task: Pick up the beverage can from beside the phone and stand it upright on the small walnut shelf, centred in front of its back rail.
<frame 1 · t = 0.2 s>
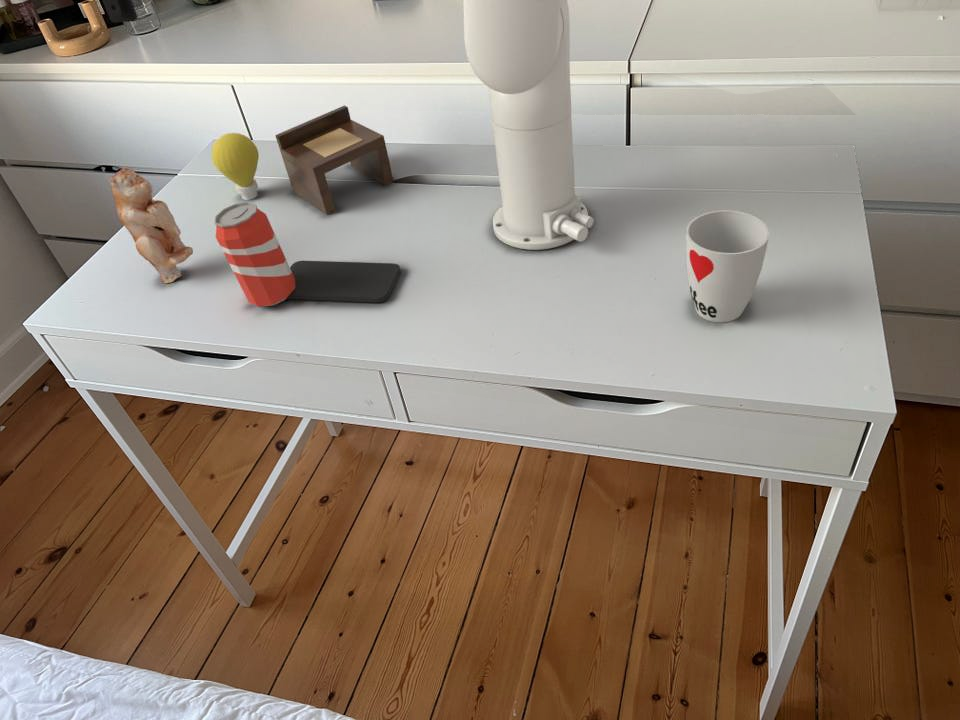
hand: (146, 6, 91), 31 cm above the table, tool pointing down, fingers open, 9 cm apart
cup: (719, 309, 85), on the table
phone: (339, 284, 98), on the table, touching beverage can
light bulb: (250, 197, 119), on the table
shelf: (343, 187, 117), on the table
beverage can: (274, 296, 98), on the table, touching phone
figurine: (175, 274, 105), on the table
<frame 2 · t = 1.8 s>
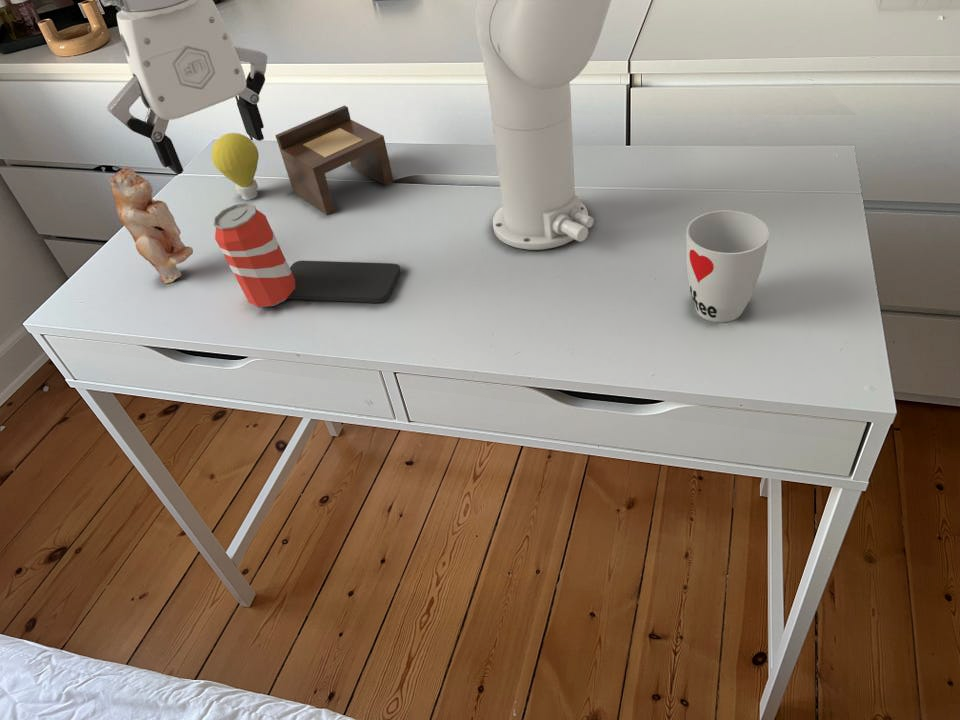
hand: (216, 153, 85), 20 cm above the table, tool pointing down, fingers open, 9 cm apart
nothing on the table moved.
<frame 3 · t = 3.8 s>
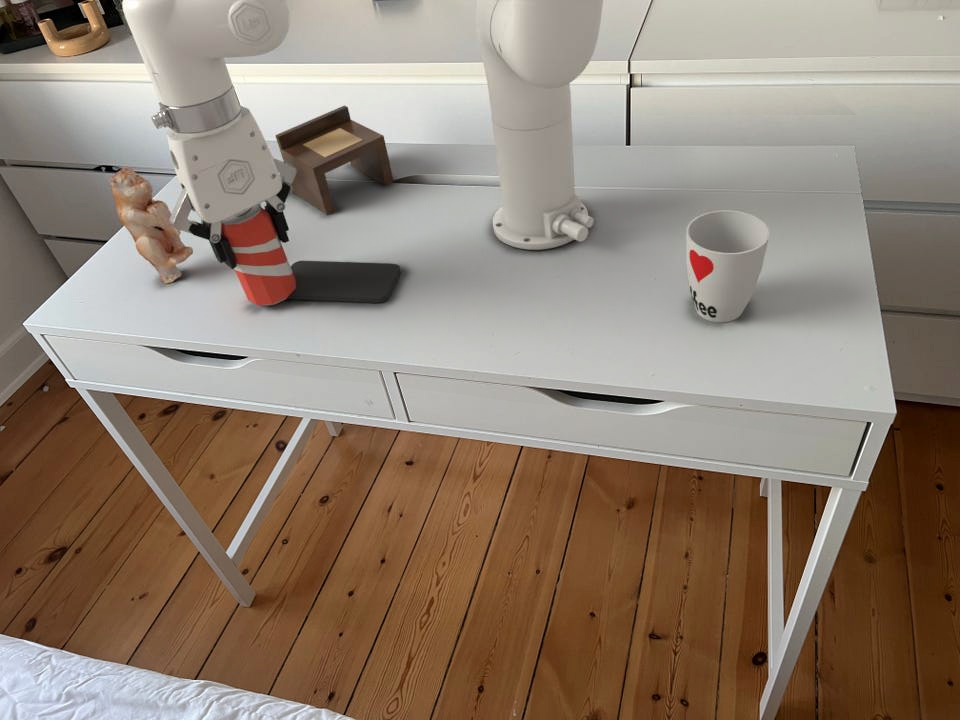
hand: (255, 249, 93), 7 cm above the table, tool pointing down, fingers closed on beverage can, 6 cm apart
beverage can: (274, 295, 98), on the table, touching gripper, phone
everything else where it was.
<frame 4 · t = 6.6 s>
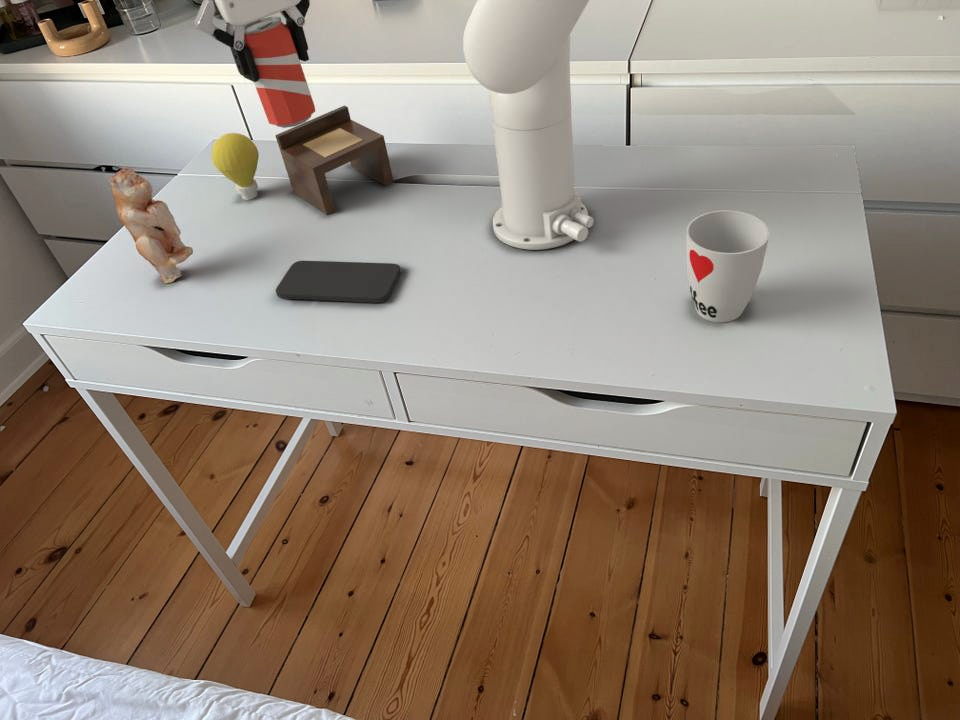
hand: (276, 67, 95), 22 cm above the table, tool pointing down, fingers closed on beverage can, 6 cm apart
phone: (339, 284, 98), on the table
beverage can: (294, 121, 100), point 15 cm above the table, touching gripper
everything else where it was.
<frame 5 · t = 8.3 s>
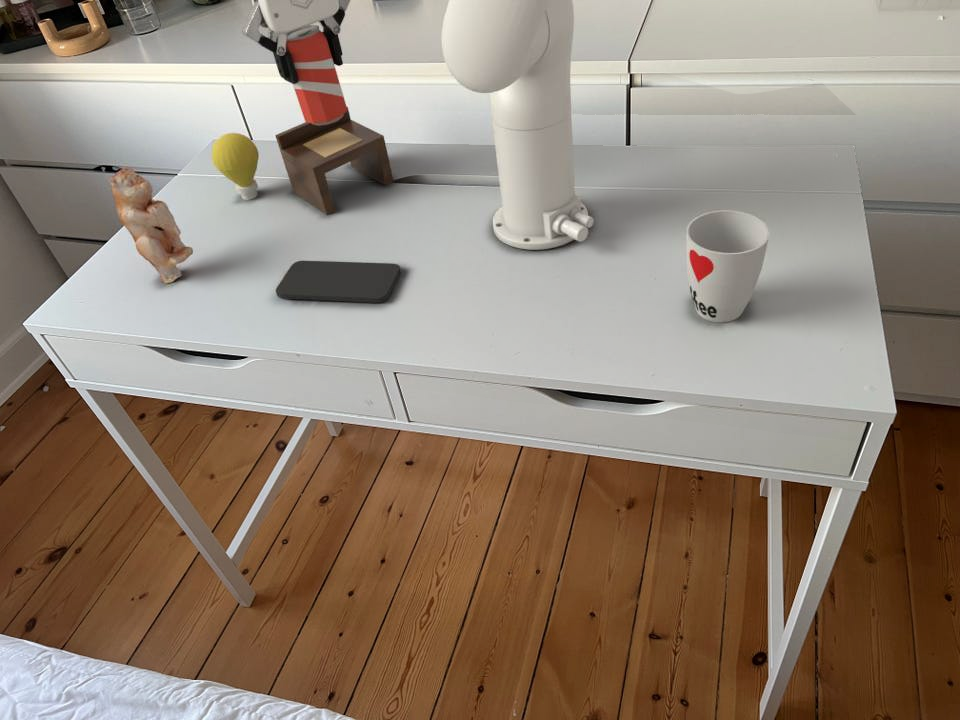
hand: (313, 71, 105), 18 cm above the table, tool pointing down, fingers closed on beverage can, 6 cm apart
beverage can: (327, 119, 110), point 11 cm above the table, touching gripper
everything else where it was.
when the fingers open (15 cm above the table, at t = 9.7 s): beverage can stays where it is, resting on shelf.
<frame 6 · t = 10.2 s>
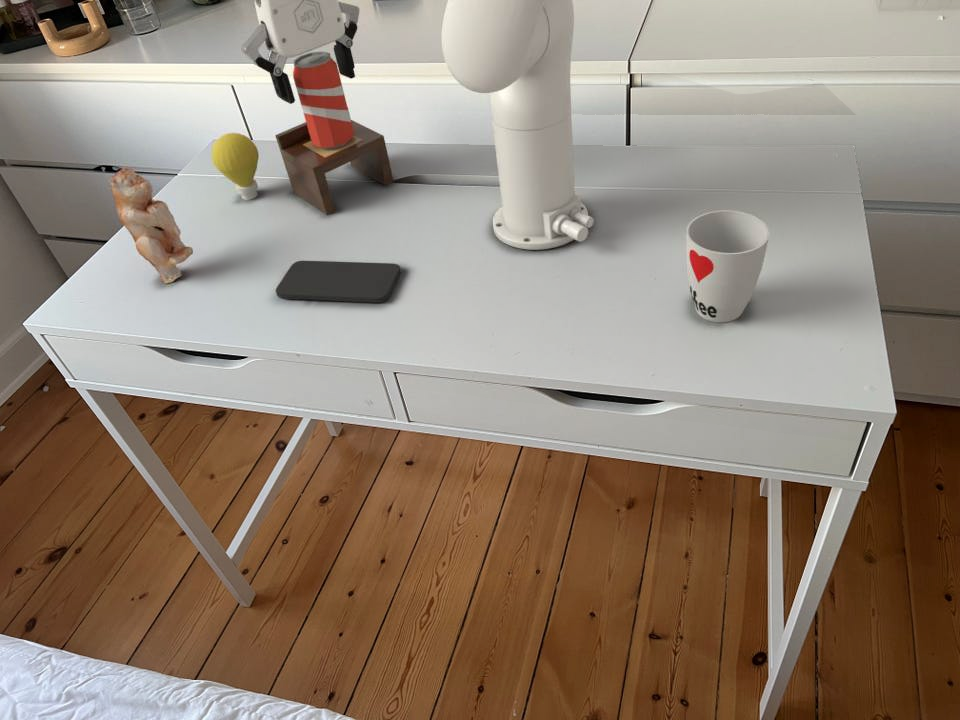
hand: (318, 88, 106), 16 cm above the table, tool pointing down, fingers open, 9 cm apart
beverage can: (334, 142, 112), point 7 cm above the table, touching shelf
everything else where it was.
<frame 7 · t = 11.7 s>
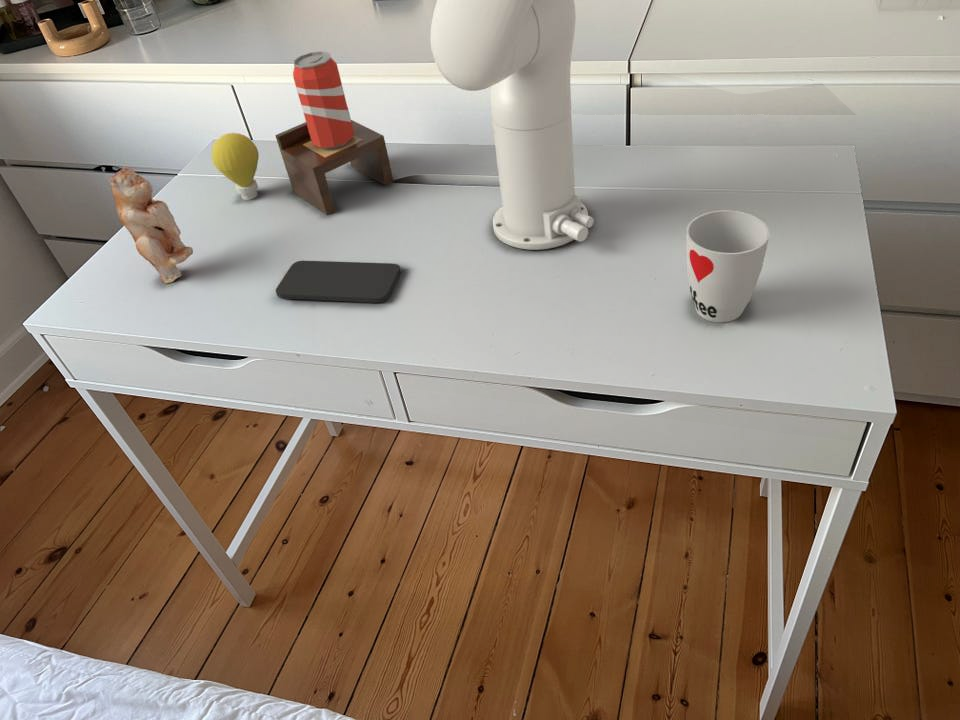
nothing on the table moved.
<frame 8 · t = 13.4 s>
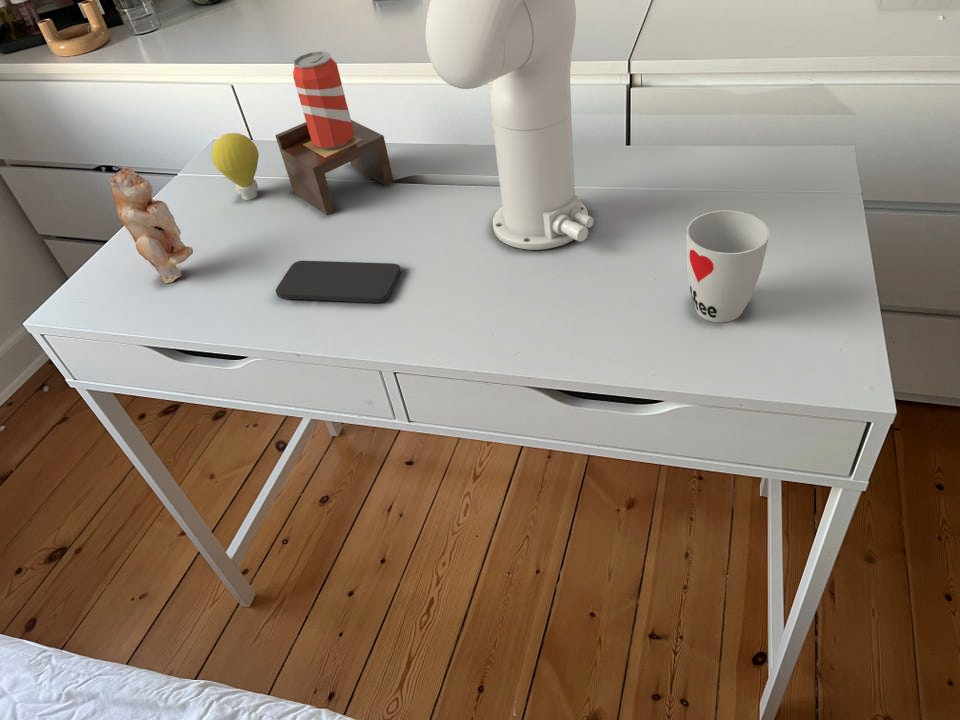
nothing on the table moved.
at the end: beverage can inside the target area on the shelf (0.4 cm from its centre), point 7.4 cm above the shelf's base; beverage can tilted 0°; the gripper is holding nothing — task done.
